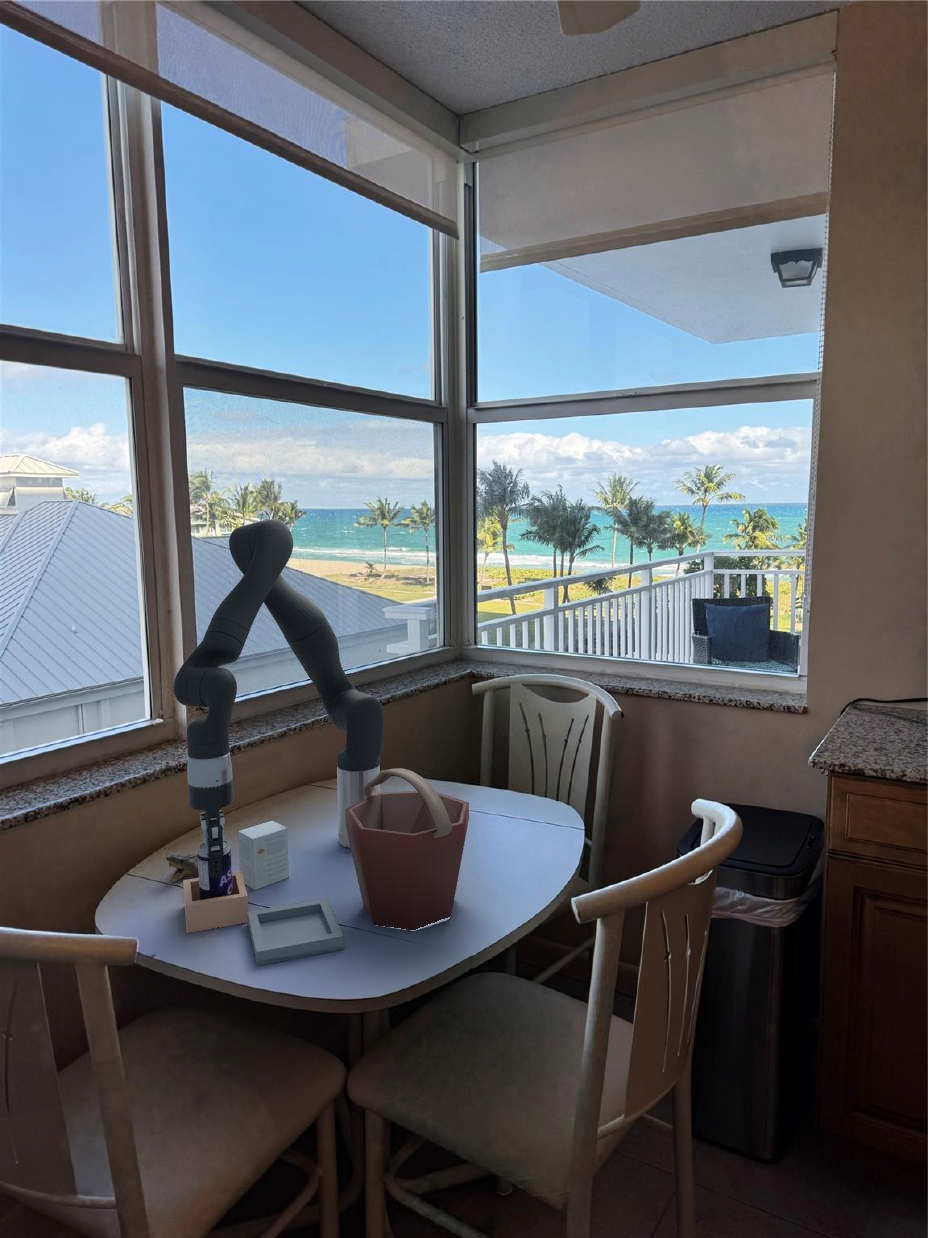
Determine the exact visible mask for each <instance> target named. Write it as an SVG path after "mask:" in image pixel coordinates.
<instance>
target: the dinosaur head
mask: <svg viewBox="0 0 928 1238" xmlns="http://www.w3.org/2000/svg"><path fill="white" fill-rule="evenodd" d="M165 859H166V861H167V862H168V867H169V868H174V869H175V871H174V873H172V875H171V876H170V877H169V882H171V883H175V882H178V881H180V880H181V879H182V878H184V877H186V876H187V877H189V876H196V877H199V872H198V853H191V854H185V855H180V854H173V855H168V856H166V857H165Z"/></svg>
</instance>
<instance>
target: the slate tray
mask: <svg viewBox="0 0 928 1238" xmlns="http://www.w3.org/2000/svg"><path fill="white" fill-rule="evenodd" d="M247 916H248V923H247V927H248V928H247V929H248V931H249V935H250V940H251V945H252V950H253V955H254V958H255V962H256V966H257V967H258V966H264V965H269V964H274V963H279V962H286V961H290V960H295V959H300V958H301V959H302V958H306V957H311V956H316V955H321V954H326V953H327V954H328V953H332V952H338V951H342V950H344V949H345V948H344V946H345V945H344V944H345V943H344V933H343V932H342V930H341V928H340V925H339V923H338V920H337V919H336V916H335V914H334V912H333V909H332V907H331V905H330V902H329V901H328V899H327V898H323V899H322V898H321V899H317V900H310V901H305V902H298V903H293V904H286V905H280V906H274V907H269V908H262V909H257V910H252V911H251V910H249V911H248V912H247Z"/></svg>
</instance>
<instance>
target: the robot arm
mask: <svg viewBox="0 0 928 1238" xmlns="http://www.w3.org/2000/svg"><path fill="white" fill-rule="evenodd" d="M228 547H229V552H230V555H231V556H232V560H233V561H234V563H235V565H236V566H237V568H238V570H239V571H240V572H241V573H242V574H243V576H242V577H241V579H240V580H239V581H238V583H237V584H236V585H235V586H234V587H233V589H232V590H231V591H230V592H229V593H228V594H227V595H226V597H224V599H223V600H222V602H221V603H220V604H219V606H218V607H217V609H216V610H215V612H214V614H213V615H212V617H211V618H210V619H211V620H210V622H209V624H208V627H207V629H206V631H205V634H204V636H203V639H202V641H201V642H200V643H199V644H198V645H197V646H196V647H195V649H194V650H193V652H192V653H191V654H190V655H189V656H188V658H187V659H186V660H185V661H184V663H182V665H181V666H180V668H179V669H178V671H177V674H176V676H175V678H174V682H173V694H174V697H175V699H176V700H177V702H178V703H179V704H181V705H183V706H185V707H186V706H187V707H195V708H207V709H208V711H207V716H206V717H205V718H200V719H199V718H198V719H196V720H194V721H191V722H190V723H189V724H188V726H187V729H186V740H187V741H186V742H187V743H186V744H187V764H186V765H187V768H186V769H187V788H188V805H189V807H190V808H192V809H193V810H196V811H202V812H200V813H199V817H200V818H199V819H200V824H201V825H200V826H201V830H202V832H201V833H202V835H203V843H205V844H206V845H207V848H208V853H207V856H208V858H209V874H210V877H211V878H215V877H221V876H222V875H223V867H222V857H223V854H224V851H223V841H226V840H225V828H224V827H225V824H226V822H225V821H226V820H225V819H226V818H225V815H224V809H223V808H226V807H229V806H231V804H232V803H233V801H234V784H233V782H234V781H233V766H232V764H233V763H232V759H231V752H230V749H231V748H230V733H229V730H230V726H231V725H230V724H231V721H232V715H233V711H234V707H235V706H234V705H235V701H236V698H237V693H238V685H237V684H238V683H237V681H236V677H235V675H234V674H233V672H231V670H230V669H228V668H224V667H221V666H224V665H229V664H233V663H235V662H237V660H238V659H239V658H240V656H241V654H242V651H243V649H244V646H245V644H246V641H247V639H248V636H249V633H250V631H251V628H252V626H253V625H254V622H255V619H256V617H257V615H258V613H259V611H260V609H261V607H262V605H265V607H266V608H267V610H268V612H269V613H270V615H271V616H272V618H273V620H274V621H275V623H276V624H277V626H278V628H279V629H280V631H281V634H282V635H283V637H284V639H285V640H286V642H287V644H288V646H289V647H290V649H291V650H292V652H293V654H294V655H295V657H296V658H297V660H298V662H299V663H300V664H301V667H302V668H303V670H304V672H305V673H306V674H307V676H308V677H309V680H311V683H312V684H313V685H314V687H315V689H316V691H317V693H318V695H319V697H320V699H321V702H322V704H323V706H324V709H325V711H326V714H327V715H328V717H329V719H330V722H331V723H332V724H333V726H334V727H336V728H337V729H338V730H340V731H341V732H343V733H346V736H345V737H346V738H345V739H346V740H345V748H344V749H342V750H340V751H338V753H337V755H336V775H337V776H336V777H337V778H336V779H337V783H336V784H337V822H338V823H337V825H338V828H337V829H338V830H337V831H338V832H337V833H338V834H337V836H338V843H339V845H340V846H342V847H344V848H348V849H351V847H350V843H349V838H348V833H347V829H346V819H345V809H347V808H349V807H351V806H353V805H355V804H357V803H359V802H361V801H363V800H365V799H366V798H365V796H364V793H363V787H364V785H366V784H367V783H368V782H369V781H371V780H372V779H373V778H375V777H376V776H377V775H378V774H379V773H380V772H381V769H380V767H381V764H380V761H381V755H382V753H383V749H384V733H385V732H384V731H385V730H384V729H385V715H384V713H385V712H384V709H383V705H382V703H381V701H380V700H379V699H378V698H377V697H375V696H374V695H370V694H367V693H364V692H361V691H359V690H358V689H356V687H355V686H354V685H353V683H352V682H351V680H350V678H349V677H348V675H347V674H346V672H345V671H344V667H342V663H341V658H340V649H339V643H338V638H337V636H336V633H335V632H334V629H333V628H332V626H331V624H330V622H329V620H328V619H327V617H326V616H325V614H324V612H323V610H322V609H321V608H320V607H319V606H318V605H316V603H314V601H312V600H311V599H309V598H308V597H307V596H305V595H304V594H302V593H301V592H300V591H299V590H298V589H296V588H294V587H293V586H292V585H291V584H289V583H288V582H287V581H286V579H285V578H284V577H283V576H282V574H281V573H282V572H283V571H284V569H285V567H286V565H287V564H288V562H289V561H290V559H291V556H292V555H293V550H294V537H293V535H292V532H291V530H290V528H289V527H288V525H287V524H285V523H284V522H283V521H282V520H279V519H275V518H273V519H270V518H269V519H265V520H264V519H263V520H260V521H255V522H252V523H248V524H246V525H245V524H244V525H241V526H238V527H236V528H235V529H233V530H232V532H231V533H230V536H229V539H228ZM374 787H375V789H376V791H377V792H378V793H381V784H379V785H376V786H374ZM221 809H223V810H221ZM214 846H219V849H218V850H212V851H211V848H212V847H214Z"/></svg>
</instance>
